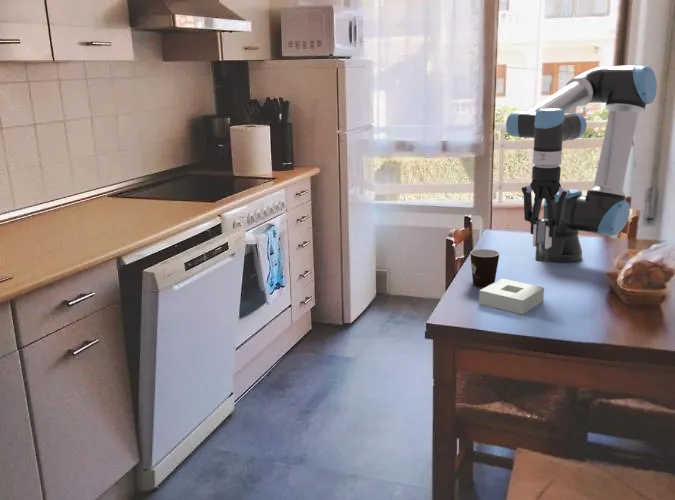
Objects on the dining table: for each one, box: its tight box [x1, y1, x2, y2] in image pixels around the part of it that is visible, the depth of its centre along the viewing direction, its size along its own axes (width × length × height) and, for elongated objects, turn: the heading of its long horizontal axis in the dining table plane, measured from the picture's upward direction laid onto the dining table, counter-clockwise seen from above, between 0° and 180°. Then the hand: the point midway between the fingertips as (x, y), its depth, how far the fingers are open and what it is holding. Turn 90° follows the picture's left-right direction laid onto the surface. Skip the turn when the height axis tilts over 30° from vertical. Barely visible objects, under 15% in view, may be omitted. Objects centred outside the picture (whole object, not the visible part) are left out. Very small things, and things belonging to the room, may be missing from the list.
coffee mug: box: [469, 248, 500, 289], centre depth 193 cm, size 12×9×10 cm
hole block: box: [478, 278, 545, 315], centre depth 177 cm, size 13×13×4 cm
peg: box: [534, 218, 549, 263], centre depth 181 cm, size 3×3×12 cm
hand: (541, 246), depth 182 cm, fingers closed on peg, 3 cm apart
